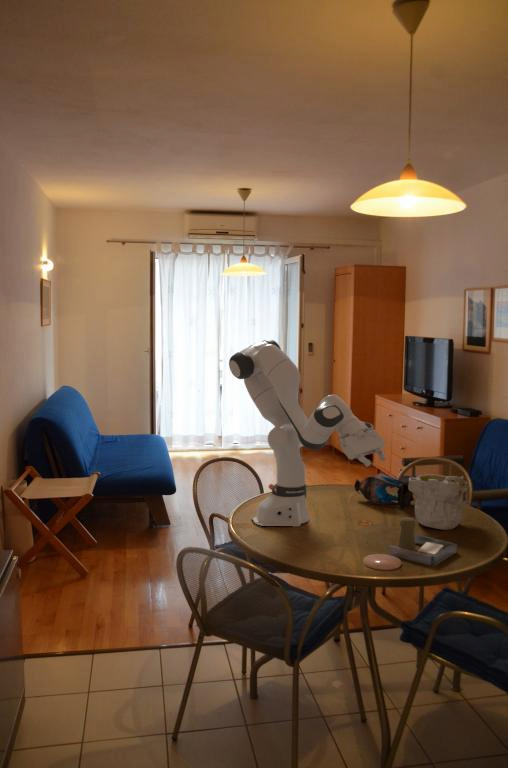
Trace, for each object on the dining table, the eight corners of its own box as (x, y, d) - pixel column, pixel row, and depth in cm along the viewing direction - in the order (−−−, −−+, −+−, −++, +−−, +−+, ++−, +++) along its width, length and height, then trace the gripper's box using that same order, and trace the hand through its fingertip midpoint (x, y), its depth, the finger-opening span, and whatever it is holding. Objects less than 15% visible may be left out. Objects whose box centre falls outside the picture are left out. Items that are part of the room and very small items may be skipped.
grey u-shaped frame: (389, 554, 219) (389, 546, 219) (413, 541, 231) (413, 533, 231) (433, 566, 208) (433, 557, 208) (456, 552, 221) (456, 543, 221)
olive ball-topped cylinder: (416, 553, 220) (417, 521, 219) (397, 552, 222) (398, 520, 220) (415, 547, 226) (416, 516, 225) (397, 545, 227) (398, 515, 226)
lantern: (409, 521, 275) (353, 509, 288) (419, 487, 283) (364, 477, 295) (401, 504, 263) (344, 492, 276) (412, 469, 271) (355, 459, 283)
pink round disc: (372, 571, 204) (372, 569, 204) (357, 557, 216) (357, 555, 216) (407, 568, 207) (407, 565, 207) (391, 554, 219) (391, 552, 219)
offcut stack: (416, 560, 215) (416, 551, 215) (426, 550, 224) (426, 541, 224) (434, 563, 212) (434, 555, 212) (443, 553, 221) (444, 545, 221)
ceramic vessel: (411, 488, 271) (449, 447, 260) (453, 533, 261) (495, 492, 250) (385, 499, 254) (425, 455, 242) (430, 548, 243) (474, 504, 232)
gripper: (341, 431, 225) (365, 462, 220) (373, 423, 240) (397, 452, 234) (331, 442, 229) (354, 474, 223) (363, 433, 244) (386, 462, 238)
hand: (377, 462), depth 229 cm, fingers open, 8 cm apart
